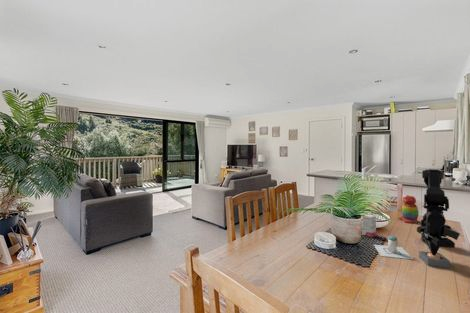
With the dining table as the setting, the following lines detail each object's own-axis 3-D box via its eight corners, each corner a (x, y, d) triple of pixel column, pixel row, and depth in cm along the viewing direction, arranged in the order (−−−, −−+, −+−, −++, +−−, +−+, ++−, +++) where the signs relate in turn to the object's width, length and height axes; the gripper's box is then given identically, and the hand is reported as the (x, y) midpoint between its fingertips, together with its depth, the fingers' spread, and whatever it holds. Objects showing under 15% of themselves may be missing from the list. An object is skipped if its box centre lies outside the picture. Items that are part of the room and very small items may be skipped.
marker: (395, 250, 116) (396, 236, 116) (397, 253, 113) (398, 239, 112) (387, 249, 118) (387, 235, 117) (388, 252, 114) (389, 238, 114)
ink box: (376, 236, 136) (376, 216, 135) (372, 238, 133) (372, 217, 132) (361, 231, 143) (361, 212, 143) (357, 233, 140) (357, 214, 140)
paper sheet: (401, 247, 120) (401, 247, 120) (413, 259, 107) (413, 258, 107) (373, 245, 123) (373, 244, 123) (381, 256, 111) (381, 255, 111)
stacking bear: (396, 218, 168) (397, 194, 167) (411, 218, 167) (412, 194, 166) (406, 223, 157) (406, 197, 156) (422, 223, 156) (423, 197, 155)
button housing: (439, 259, 107) (439, 252, 107) (449, 267, 100) (450, 261, 100) (418, 257, 110) (418, 250, 109) (427, 265, 102) (427, 258, 102)
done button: (436, 258, 106) (436, 253, 106) (442, 263, 102) (442, 257, 102) (425, 257, 107) (425, 252, 107) (430, 261, 103) (430, 256, 103)
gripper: (471, 229, 93) (470, 267, 93) (444, 216, 111) (443, 248, 111) (438, 226, 96) (437, 264, 96) (416, 214, 114) (415, 245, 114)
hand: (433, 254), depth 105 cm, fingers closed, pressing on done button
